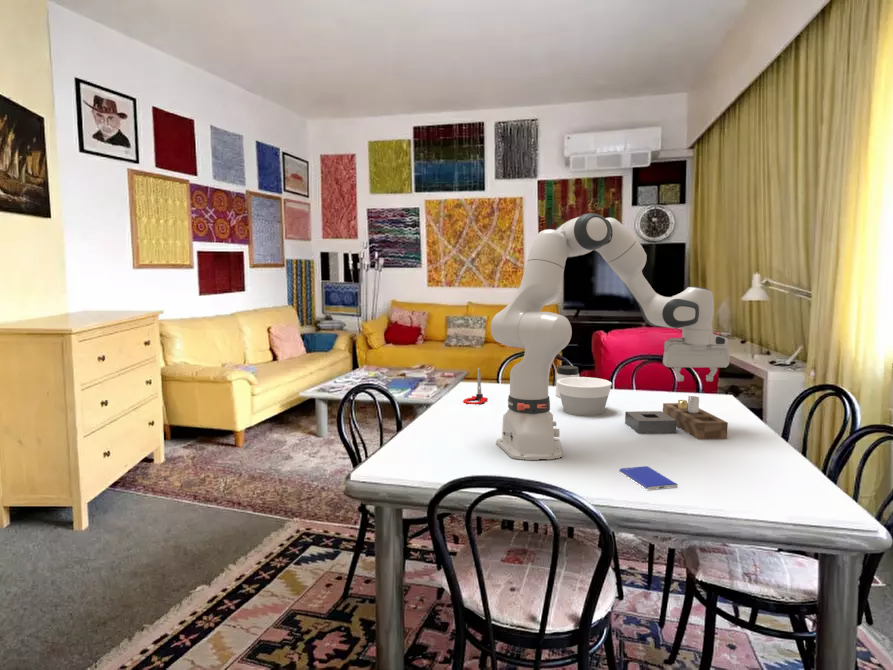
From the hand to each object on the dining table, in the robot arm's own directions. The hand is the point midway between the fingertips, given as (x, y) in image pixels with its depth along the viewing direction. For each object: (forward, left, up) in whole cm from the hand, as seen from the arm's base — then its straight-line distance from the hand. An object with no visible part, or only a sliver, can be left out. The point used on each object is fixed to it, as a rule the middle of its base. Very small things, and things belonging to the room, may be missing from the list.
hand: (694, 381), depth 188 cm
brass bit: (+8, 0, -15) cm, 17 cm away
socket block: (0, +14, -15) cm, 21 cm away
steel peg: (0, 0, -15) cm, 15 cm away
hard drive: (-45, +32, -16) cm, 58 cm away
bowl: (+24, +29, -16) cm, 41 cm away
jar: (+48, +29, -15) cm, 58 cm away
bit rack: (0, 0, -15) cm, 15 cm away
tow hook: (+40, +67, -16) cm, 80 cm away
